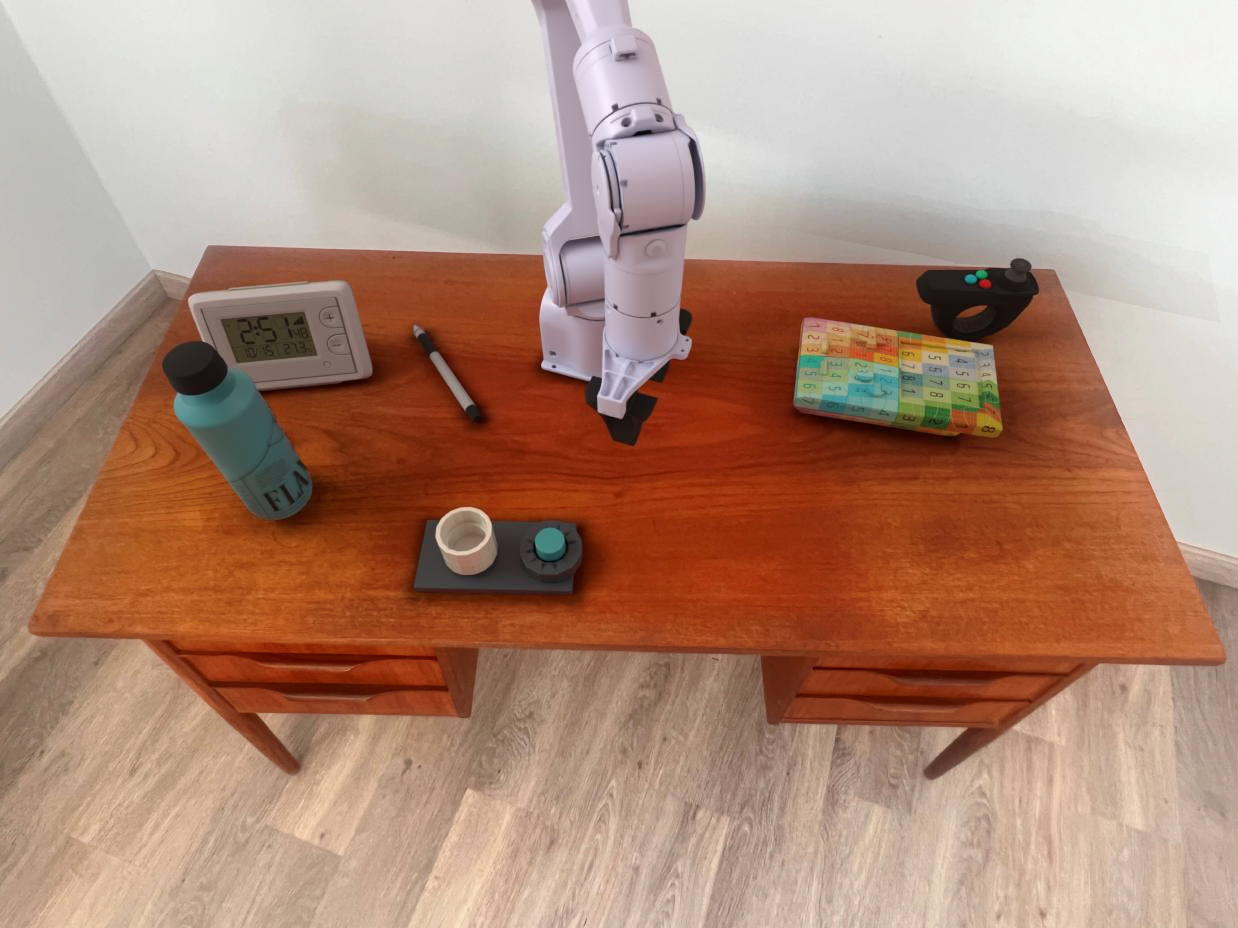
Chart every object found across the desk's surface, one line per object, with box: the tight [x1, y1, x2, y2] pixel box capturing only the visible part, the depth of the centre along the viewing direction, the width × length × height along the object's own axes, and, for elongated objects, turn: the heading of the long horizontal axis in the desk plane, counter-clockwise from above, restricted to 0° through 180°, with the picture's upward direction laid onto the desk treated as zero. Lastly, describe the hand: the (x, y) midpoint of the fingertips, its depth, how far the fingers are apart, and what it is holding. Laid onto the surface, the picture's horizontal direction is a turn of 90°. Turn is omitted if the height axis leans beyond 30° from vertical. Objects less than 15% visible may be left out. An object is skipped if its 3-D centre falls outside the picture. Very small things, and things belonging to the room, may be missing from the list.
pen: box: [413, 324, 482, 423], centre depth 81 cm, size 1×16×1 cm, turn 33°
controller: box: [915, 257, 1040, 341], centre depth 81 cm, size 4×12×10 cm, turn 88°
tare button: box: [535, 528, 566, 561], centre depth 65 cm, size 3×3×2 cm
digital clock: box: [187, 279, 374, 392], centre depth 77 cm, size 16×9×11 cm, turn 86°
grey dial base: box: [413, 519, 584, 596], centre depth 67 cm, size 15×7×2 cm, turn 89°
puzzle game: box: [792, 317, 1004, 439], centre depth 77 cm, size 12×5×20 cm
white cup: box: [435, 506, 498, 575], centre depth 65 cm, size 5×5×4 cm
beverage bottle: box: [161, 340, 314, 521], centre depth 63 cm, size 6×7×20 cm
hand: (638, 408), depth 66 cm, fingers open, 7 cm apart
